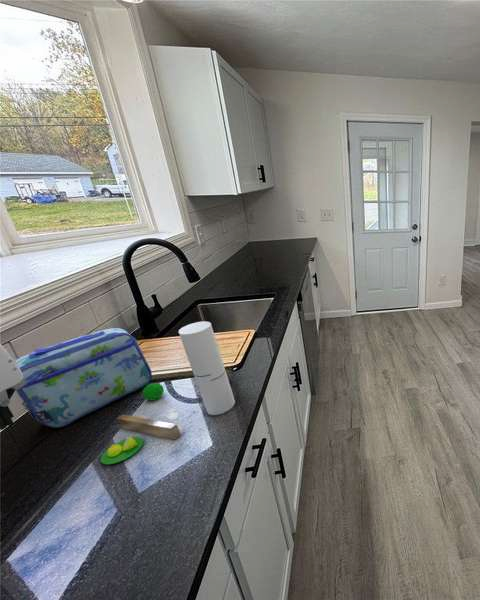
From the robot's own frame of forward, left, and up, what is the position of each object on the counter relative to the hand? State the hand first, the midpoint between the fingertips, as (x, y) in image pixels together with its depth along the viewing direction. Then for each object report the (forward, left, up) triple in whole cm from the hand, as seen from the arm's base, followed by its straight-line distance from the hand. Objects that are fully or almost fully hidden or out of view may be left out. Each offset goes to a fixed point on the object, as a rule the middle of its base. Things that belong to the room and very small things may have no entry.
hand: (3, 425), depth 60 cm
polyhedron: (-5, +29, -18) cm, 34 cm away
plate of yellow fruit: (+6, +11, -18) cm, 22 cm away
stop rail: (+7, +18, -18) cm, 26 cm away
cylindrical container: (+18, +30, -18) cm, 39 cm away
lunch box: (-20, +24, -18) cm, 36 cm away
